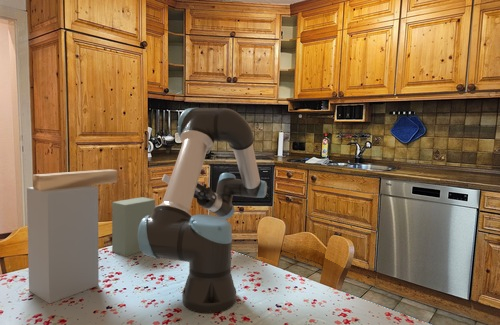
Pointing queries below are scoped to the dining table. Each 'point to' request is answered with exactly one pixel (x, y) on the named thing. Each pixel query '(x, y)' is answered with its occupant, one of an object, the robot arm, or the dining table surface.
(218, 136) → the robot arm
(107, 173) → the tan wooden bar
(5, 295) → the dining table surface
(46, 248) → the stand
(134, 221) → the sage green block
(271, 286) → the dining table surface
